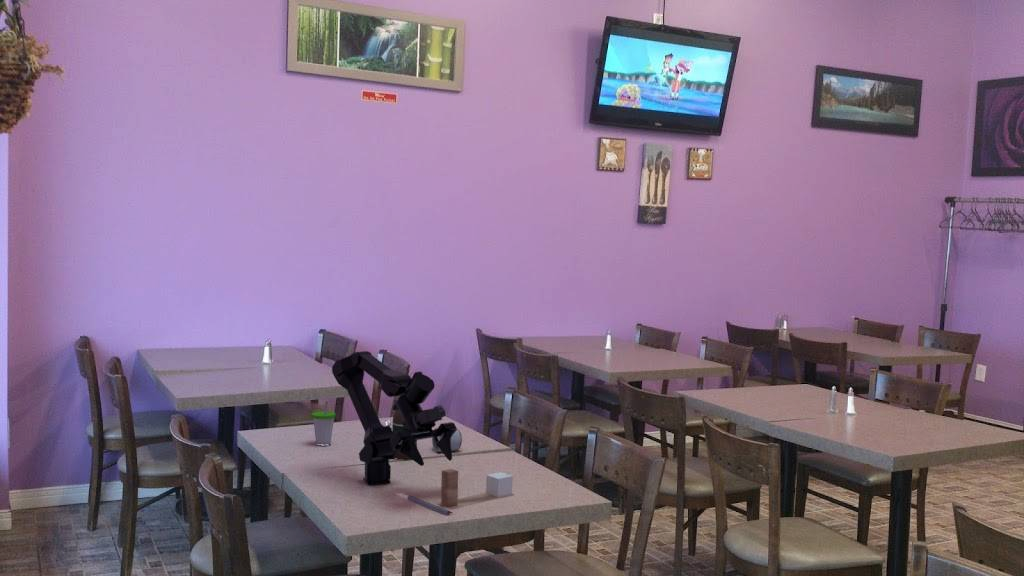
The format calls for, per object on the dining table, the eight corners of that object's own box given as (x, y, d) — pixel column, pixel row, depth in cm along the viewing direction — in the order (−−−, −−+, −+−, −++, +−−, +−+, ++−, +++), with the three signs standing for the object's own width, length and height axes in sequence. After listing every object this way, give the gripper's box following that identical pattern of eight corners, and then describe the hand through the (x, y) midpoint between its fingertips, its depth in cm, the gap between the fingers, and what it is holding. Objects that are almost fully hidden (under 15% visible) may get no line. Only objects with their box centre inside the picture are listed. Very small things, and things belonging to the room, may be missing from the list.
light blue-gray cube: (486, 493, 258) (486, 475, 258) (500, 490, 261) (500, 472, 261) (498, 497, 254) (498, 479, 254) (512, 494, 258) (512, 476, 257)
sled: (435, 507, 248) (436, 469, 247) (500, 492, 262) (500, 457, 261) (450, 513, 243) (451, 474, 242) (514, 498, 258) (515, 461, 257)
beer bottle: (406, 461, 294) (407, 384, 293) (386, 457, 299) (387, 381, 297) (421, 456, 301) (423, 381, 299) (402, 452, 305) (403, 378, 303)
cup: (316, 441, 318) (316, 396, 317) (338, 442, 317) (339, 397, 316) (307, 446, 310) (308, 401, 309) (331, 448, 309) (331, 402, 308)
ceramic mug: (463, 452, 308) (463, 428, 307) (439, 454, 304) (439, 430, 304) (451, 445, 317) (451, 422, 317) (428, 447, 314) (428, 424, 314)
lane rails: (407, 499, 254) (407, 496, 254) (479, 484, 271) (479, 480, 271) (446, 515, 242) (446, 511, 242) (520, 498, 258) (520, 494, 258)
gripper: (396, 399, 247) (421, 450, 239) (453, 392, 259) (478, 440, 252) (378, 424, 253) (402, 474, 245) (435, 416, 265) (459, 463, 258)
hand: (437, 462), depth 250 cm, fingers open, 9 cm apart
